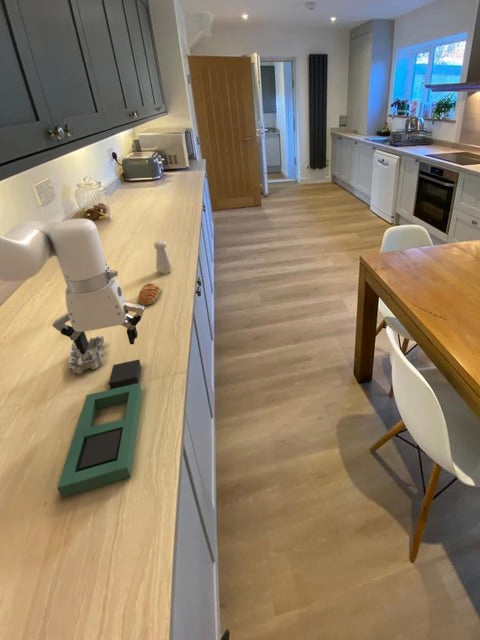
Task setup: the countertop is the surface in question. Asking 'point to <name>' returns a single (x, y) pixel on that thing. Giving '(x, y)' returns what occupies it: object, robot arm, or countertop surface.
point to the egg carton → (87, 355)
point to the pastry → (149, 293)
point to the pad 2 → (125, 374)
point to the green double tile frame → (111, 471)
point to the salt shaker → (162, 258)
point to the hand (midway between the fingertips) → (109, 345)
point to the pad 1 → (101, 450)
